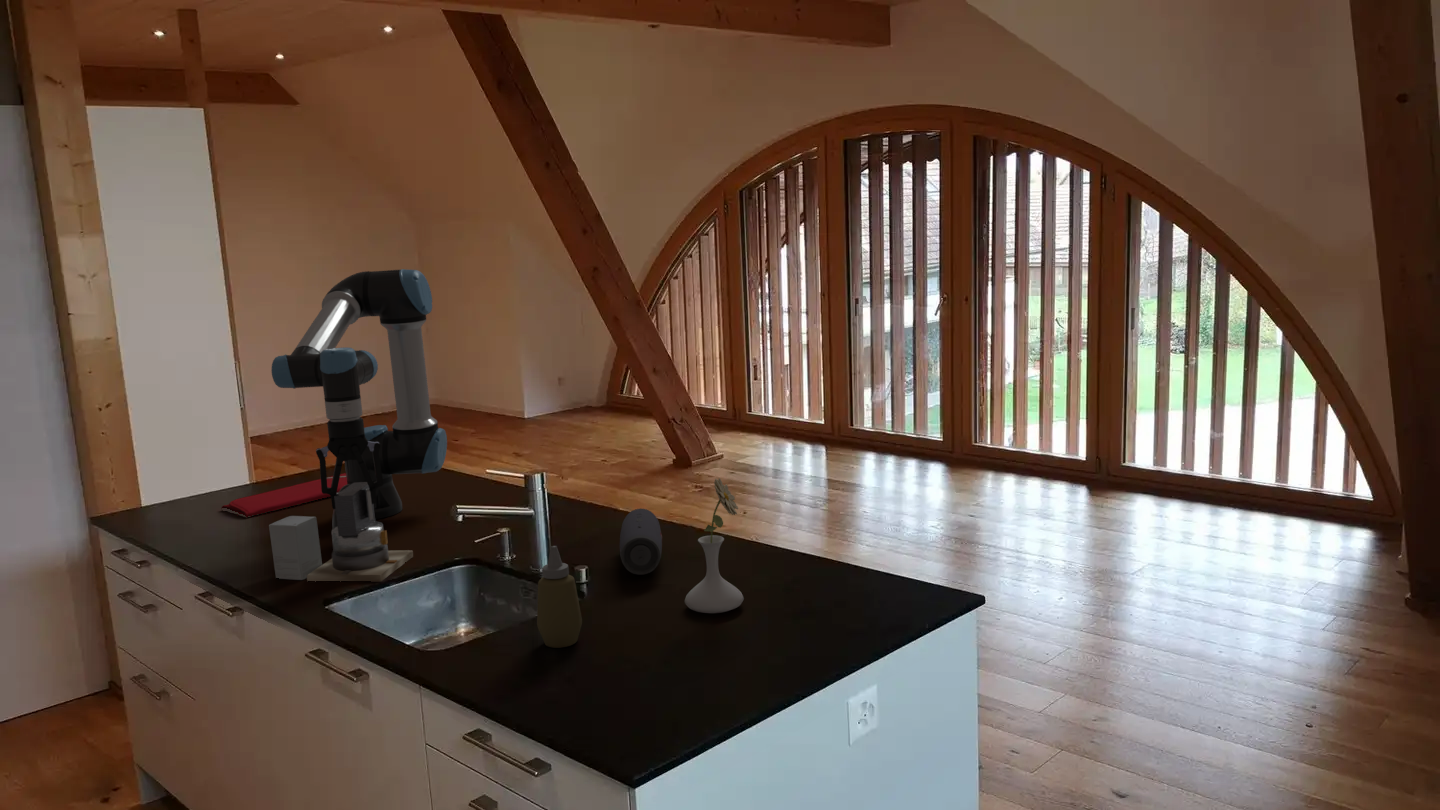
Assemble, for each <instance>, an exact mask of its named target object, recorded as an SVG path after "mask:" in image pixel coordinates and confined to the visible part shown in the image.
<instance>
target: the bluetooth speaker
mask: <svg viewBox="0 0 1440 810" xmlns="http://www.w3.org/2000/svg"><path fill="white" fill-rule="evenodd" d="M619 535H620V536H619V555H620V560H621V563H622V565H623V567H624V568H625V569H626V570H627V572H630V573H631V574H633V575H647V574H650V573H651V572H654V571H655V569H656V568H657V567H658V566H659V564H660V561H661V558H662V549H663V548H662V547H663V535H662V530H661V526H660V522H659V520H658V518H657V516H656V514H654V513H653V512H652V511H651V510H649V509H646V508H637V509H633V510H631V511H630V512H629V513H627V515H625V517H624V519H623V521H622V525H621V529H620V534H619Z"/></svg>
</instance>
